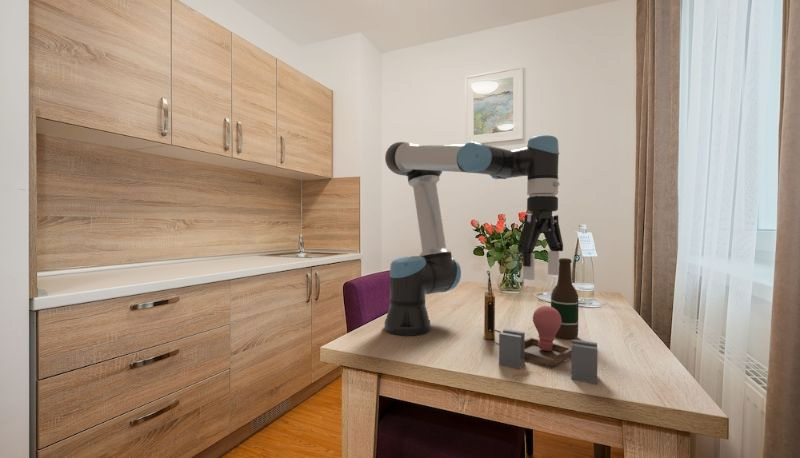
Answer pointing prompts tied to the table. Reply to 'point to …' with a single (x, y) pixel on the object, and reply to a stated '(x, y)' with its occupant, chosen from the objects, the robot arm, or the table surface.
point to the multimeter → (489, 313)
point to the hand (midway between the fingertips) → (541, 277)
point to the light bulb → (546, 326)
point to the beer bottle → (566, 302)
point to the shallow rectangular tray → (546, 353)
